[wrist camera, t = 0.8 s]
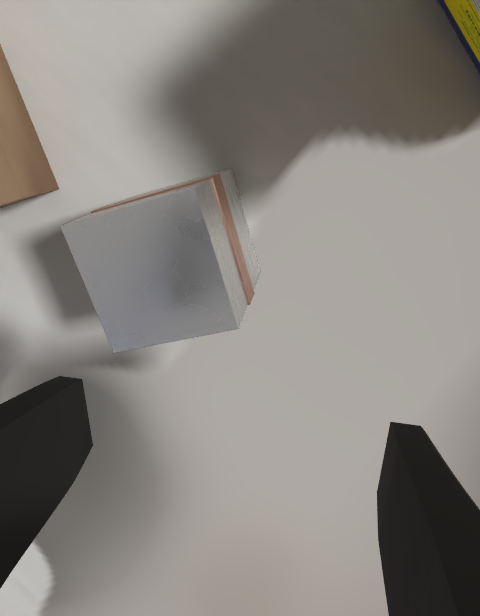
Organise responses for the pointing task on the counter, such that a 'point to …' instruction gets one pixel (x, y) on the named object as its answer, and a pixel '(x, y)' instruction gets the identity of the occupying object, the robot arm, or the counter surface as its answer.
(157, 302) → the steel tea tin
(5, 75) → the walnut block
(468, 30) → the supplement box
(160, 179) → the counter surface
